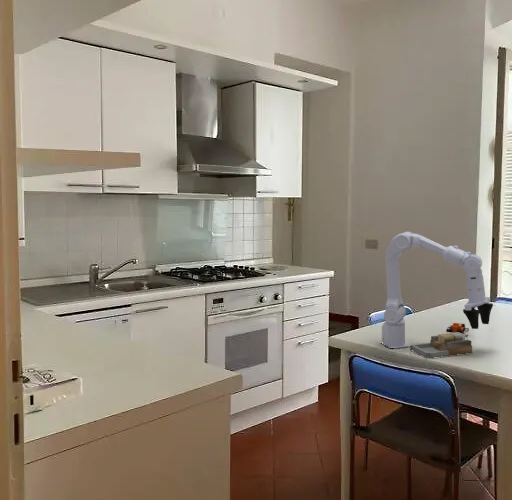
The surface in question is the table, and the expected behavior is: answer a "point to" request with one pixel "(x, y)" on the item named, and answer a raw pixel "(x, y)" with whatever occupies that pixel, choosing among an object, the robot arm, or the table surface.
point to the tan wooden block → (445, 338)
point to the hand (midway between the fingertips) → (480, 326)
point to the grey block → (458, 336)
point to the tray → (428, 350)
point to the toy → (457, 328)
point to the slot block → (452, 346)
